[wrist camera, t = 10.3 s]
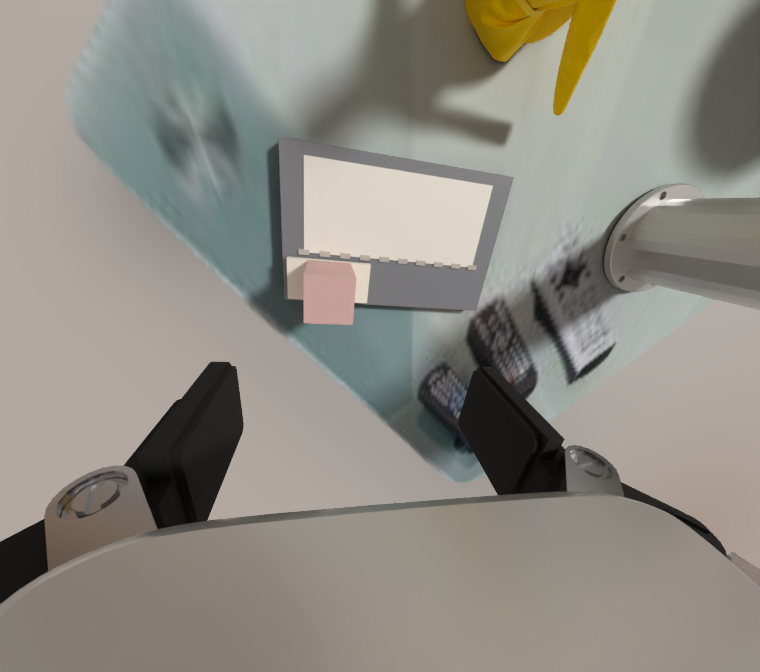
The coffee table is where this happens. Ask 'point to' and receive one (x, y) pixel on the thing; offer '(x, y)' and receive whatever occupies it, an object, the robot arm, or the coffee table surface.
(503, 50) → the figure statuette
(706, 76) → the coffee table surface
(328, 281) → the stub
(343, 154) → the board
